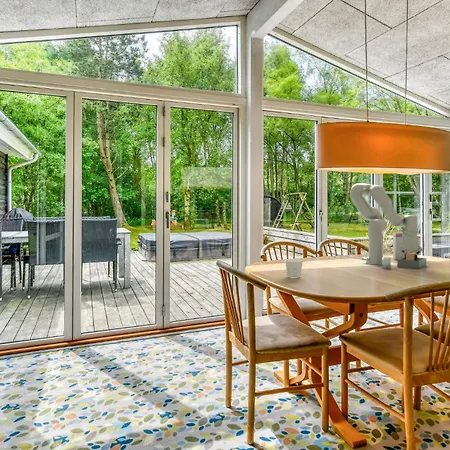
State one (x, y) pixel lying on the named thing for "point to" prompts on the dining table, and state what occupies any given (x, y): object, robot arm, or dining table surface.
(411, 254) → the terracotta cube
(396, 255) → the cracker box
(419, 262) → the tote
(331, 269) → the dining table surface
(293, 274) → the cup
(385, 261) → the metal cylinder
